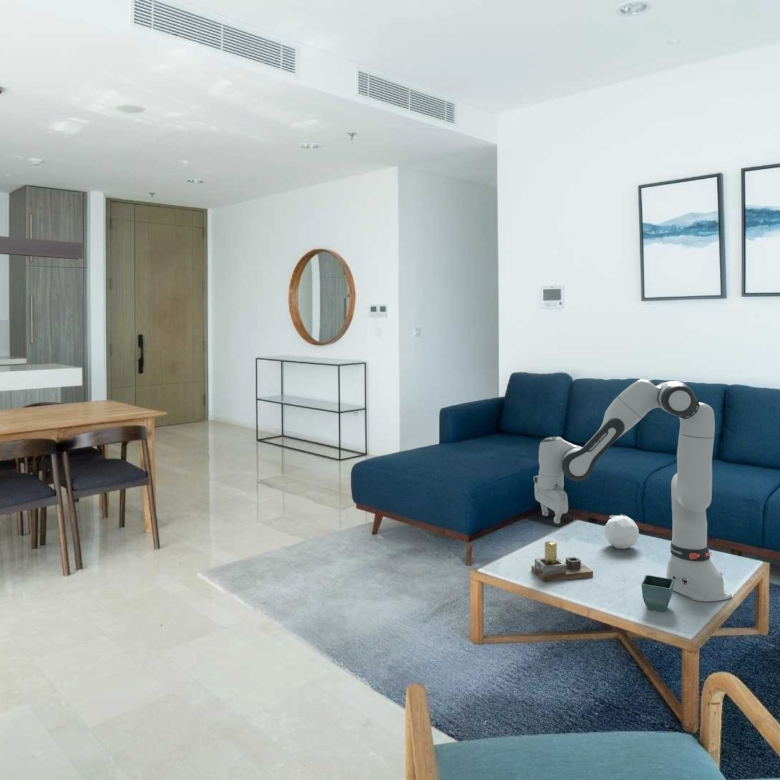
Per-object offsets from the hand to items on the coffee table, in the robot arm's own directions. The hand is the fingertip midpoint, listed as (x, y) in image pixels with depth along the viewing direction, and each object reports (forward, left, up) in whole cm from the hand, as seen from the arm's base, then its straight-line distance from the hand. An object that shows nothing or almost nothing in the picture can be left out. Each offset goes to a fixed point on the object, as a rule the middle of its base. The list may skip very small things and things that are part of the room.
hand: (551, 519), depth 249 cm
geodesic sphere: (+20, -40, -21) cm, 50 cm away
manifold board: (0, -4, -21) cm, 21 cm away
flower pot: (-35, -20, -21) cm, 46 cm away
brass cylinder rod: (0, 0, -19) cm, 19 cm away
